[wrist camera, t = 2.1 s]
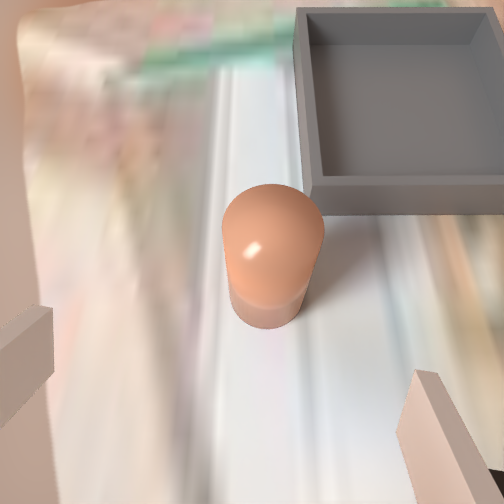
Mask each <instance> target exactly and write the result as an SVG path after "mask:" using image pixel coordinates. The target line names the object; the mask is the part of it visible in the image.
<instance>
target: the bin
mask: <svg viewBox="0 0 504 504" xmlns="http://www.w3.org/2000/svg"><path fill="white" fill-rule="evenodd" d="M293 59H294V72H295V85H296V98H297V111H298V124H299V137H300V150H301V163H302V176H303V189H304V194H305V195H306V196H308V197H309V198H310V199H311V200H312V201H313V202H314V203H315V205H316V206H317V207H318V209H319V211H320V213H321V215H322V216H324V215H484V214H504V34H503V31H502V29H501V26H500V24H499V21H498V19H497V16H496V14H495V11H494V9H493V7H297V9H296V18H295V28H294V38H293Z"/></svg>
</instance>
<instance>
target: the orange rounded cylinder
mask: <svg viewBox="0 0 504 504" xmlns="http://www.w3.org/2000/svg"><path fill="white" fill-rule="evenodd" d="M222 234H223V243H224V251H225V259H226V268H227V276H228V285H229V293H230V300H231V304H232V307H233V309H234V311H235V313H236V314H237V315H238V316H239V318H240V319H242V320H243V321H244V322H245V323H247V324H249V325H251V326H253V327H256V328H260V329H274V328H278V327H281V326H283V325H285V324H287V323H289V322H290V321H291V320H292V319H293V318H294V317H295V316H296V315H297V313H298V312H299V310H300V308H301V305H302V302H303V299H304V296H305V293H306V290H307V287H308V284H309V281H310V278H311V275H312V272H313V269H314V266H315V263H316V260H317V257H318V254H319V251H320V248H321V245H322V241H323V238H324V222H323V218H322V215H321V213H320V211H319V209H318V207H317V206H316V205H315V203H314V202H313V201H312V200H311V199H310V198H309V197H308V196H306V195H305V194H303V193H302V192H300V191H298V190H296V189H294V188H291V187H288V186H285V185H279V184H265V185H259V186H256V187H252V188H250V189H248V190H246V191H244V192H242V193H241V194H240V195H238V196H237V197H236V198H235V199H234V200H233V201H232V202H231V203H230V205H229V206H228V208H227V209H226V212H225V214H224V217H223V222H222Z"/></svg>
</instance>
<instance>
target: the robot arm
mask: <svg viewBox="0 0 504 504" xmlns="http://www.w3.org/2000/svg"><path fill="white" fill-rule="evenodd" d="M53 373H54V340H53V308H50V307H44V306H39V305H31V306H30V307H29V308H27V309H26V310H24V311H23V312H22V313H20V314H19V315H18V316H16V317H15V318H14V319H12V320H11V321H9V322H8V323H7V324H5V325H4V326H3V327H1V328H0V430H1V429H2V427H3V426H4V425H5V424H6V423H7V422H8V421H9V420H10V419H11V418H12V417H13V416H14V415H15V413H16V412H17V411H18V410H19V409H20V408H21V407H22V406H23V405H24V404H25V403H26V402H27V401H28V399H29V398H30V397H31V396H32V395H33V394H34V393H35V392H36V391H37V390H38V389H39V388H40V387H41V386H42V384H43V383H44V382H45V381H46V380H47V379H48V378H49V377H50V376H51V375H52V374H53ZM396 434H397V438H398V441H399V444H400V447H401V451H402V454H403V457H404V460H405V464H406V467H407V470H408V474H409V477H410V480H411V483H412V487H413V490H414V493H415V496H416V500H417V503H418V504H504V472H503V471H498V470H492V469H488V468H487V466H486V464H485V462H484V460H483V458H482V456H481V455H480V453H479V451H478V449H477V447H476V445H475V443H474V441H473V440H472V438H471V436H470V434H469V432H468V430H467V428H466V426H465V424H464V423H463V421H462V419H461V417H460V415H459V413H458V411H457V409H456V408H455V406H454V404H453V402H452V400H451V398H450V396H449V394H448V392H447V391H446V389H445V387H444V385H443V383H442V381H441V379H440V377H439V376H438V374H437V373H434V372H428V371H422V370H416V369H415V371H414V374H413V378H412V381H411V384H410V387H409V391H408V394H407V397H406V401H405V404H404V407H403V411H402V414H401V417H400V421H399V424H398V427H397V431H396Z"/></svg>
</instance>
